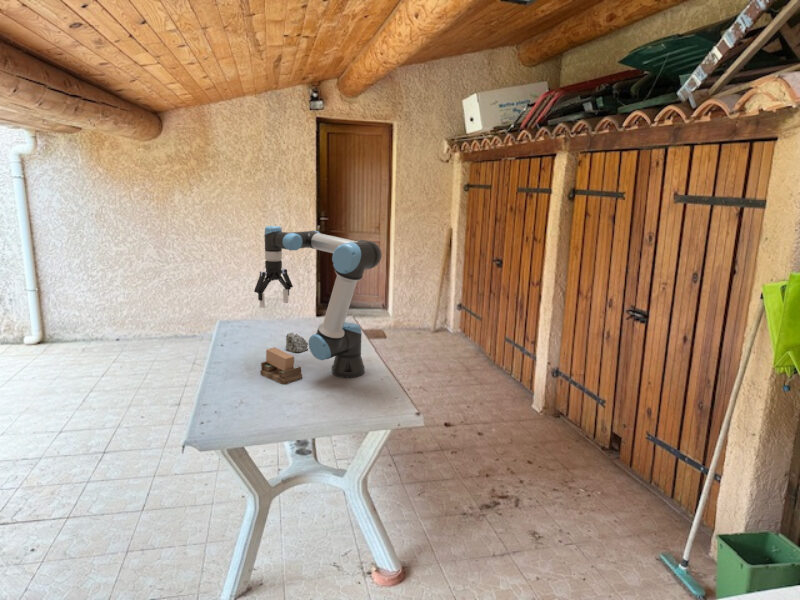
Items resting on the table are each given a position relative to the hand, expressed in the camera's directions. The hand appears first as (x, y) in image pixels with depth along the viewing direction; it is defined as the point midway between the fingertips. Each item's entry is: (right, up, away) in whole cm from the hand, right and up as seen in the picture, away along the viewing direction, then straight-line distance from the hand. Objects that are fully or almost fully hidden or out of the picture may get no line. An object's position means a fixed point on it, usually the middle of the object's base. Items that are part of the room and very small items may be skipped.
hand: (274, 304), depth 240 cm
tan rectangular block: (+5, -27, -12) cm, 30 cm away
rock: (+5, -24, +26) cm, 36 cm away
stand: (+6, -32, -12) cm, 34 cm away
